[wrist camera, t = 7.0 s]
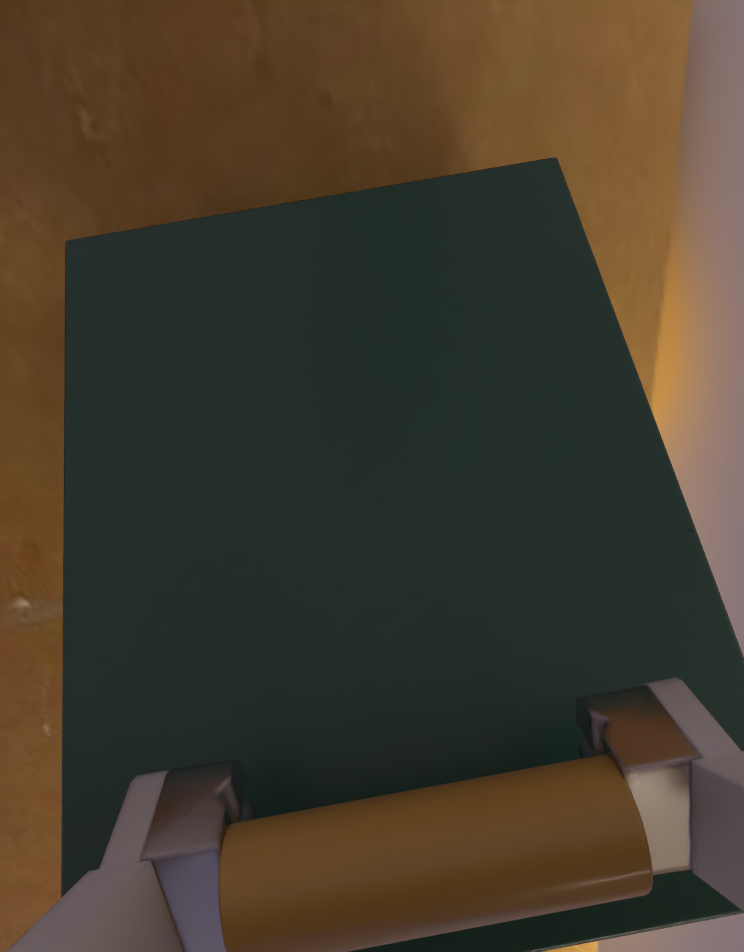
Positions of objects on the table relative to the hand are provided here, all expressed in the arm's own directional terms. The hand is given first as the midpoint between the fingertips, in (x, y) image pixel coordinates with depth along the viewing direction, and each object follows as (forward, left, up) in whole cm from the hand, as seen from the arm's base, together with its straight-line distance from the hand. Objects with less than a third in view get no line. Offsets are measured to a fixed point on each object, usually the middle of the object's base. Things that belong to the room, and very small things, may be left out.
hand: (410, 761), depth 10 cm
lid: (0, -2, -5) cm, 6 cm away
